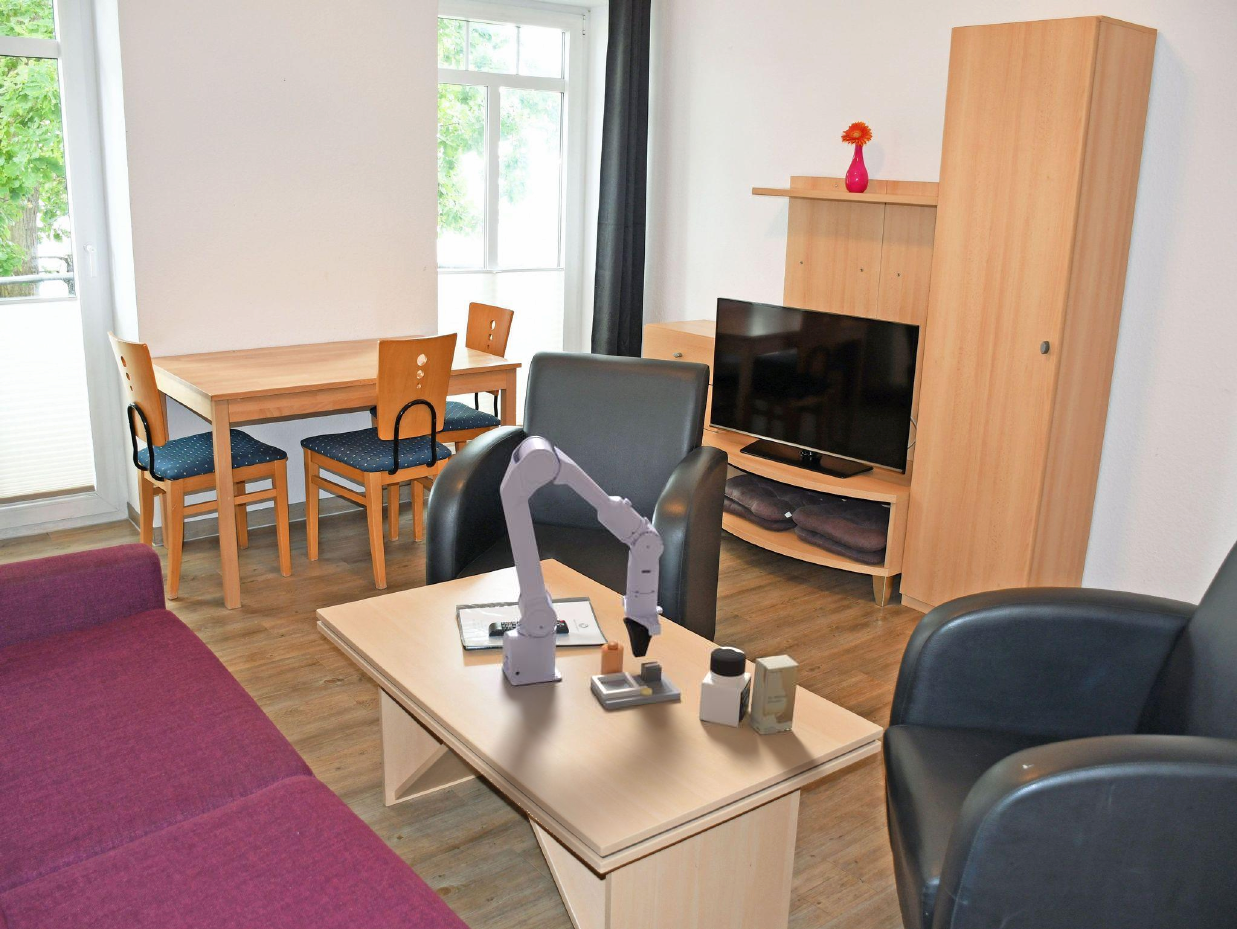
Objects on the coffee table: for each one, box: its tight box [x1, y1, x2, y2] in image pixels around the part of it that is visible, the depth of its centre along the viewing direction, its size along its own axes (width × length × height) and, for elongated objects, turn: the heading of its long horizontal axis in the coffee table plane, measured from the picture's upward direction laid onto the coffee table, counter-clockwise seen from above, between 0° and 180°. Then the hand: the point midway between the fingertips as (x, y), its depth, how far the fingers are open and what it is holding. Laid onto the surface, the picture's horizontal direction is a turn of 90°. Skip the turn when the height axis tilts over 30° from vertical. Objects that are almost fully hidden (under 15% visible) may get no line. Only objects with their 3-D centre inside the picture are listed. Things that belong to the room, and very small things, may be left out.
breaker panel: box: [590, 671, 681, 710], centre depth 195 cm, size 14×8×2 cm, turn 111°
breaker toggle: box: [640, 661, 663, 682], centre depth 198 cm, size 3×2×3 cm
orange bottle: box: [600, 641, 624, 675], centre depth 200 cm, size 4×4×7 cm
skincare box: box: [749, 654, 800, 735], centre depth 184 cm, size 6×4×12 cm
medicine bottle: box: [698, 646, 752, 728], centre depth 187 cm, size 7×7×12 cm
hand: (639, 655), depth 204 cm, fingers closed
